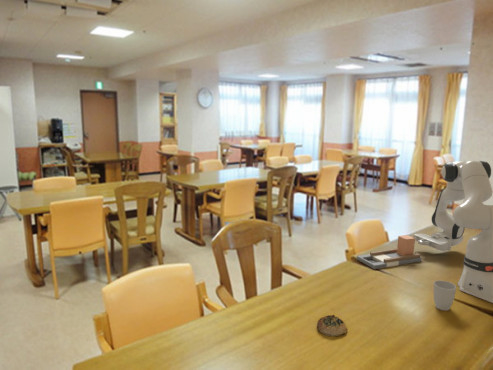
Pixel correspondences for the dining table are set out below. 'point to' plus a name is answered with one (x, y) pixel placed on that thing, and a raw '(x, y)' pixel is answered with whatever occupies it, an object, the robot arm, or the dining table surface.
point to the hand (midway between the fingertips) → (419, 243)
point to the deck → (387, 258)
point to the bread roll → (331, 326)
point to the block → (405, 245)
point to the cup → (444, 294)
